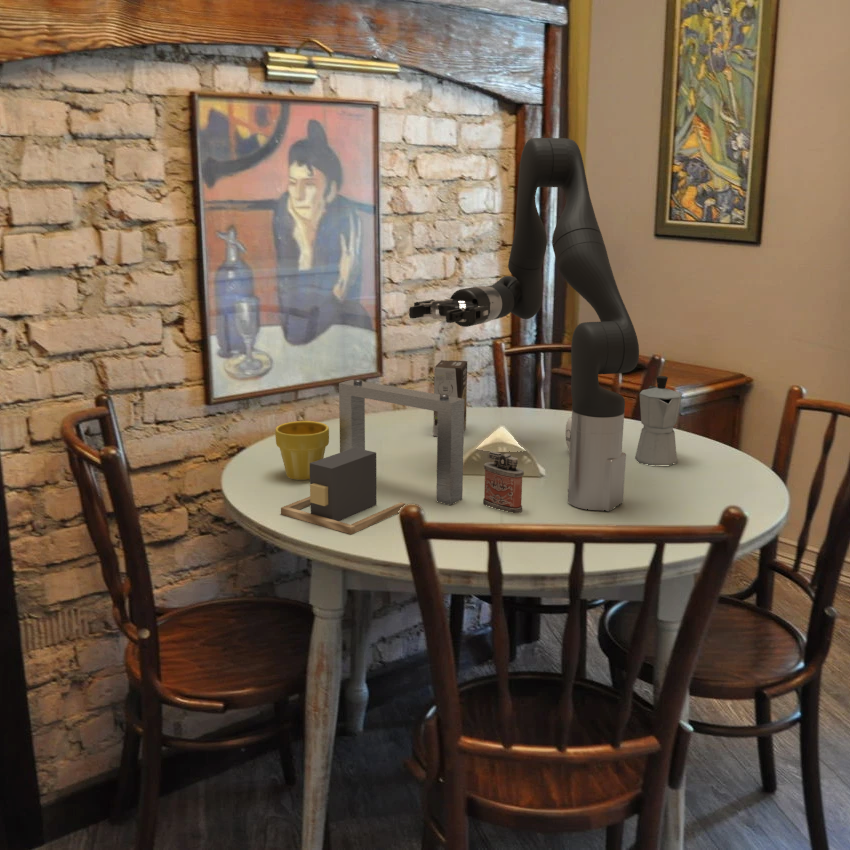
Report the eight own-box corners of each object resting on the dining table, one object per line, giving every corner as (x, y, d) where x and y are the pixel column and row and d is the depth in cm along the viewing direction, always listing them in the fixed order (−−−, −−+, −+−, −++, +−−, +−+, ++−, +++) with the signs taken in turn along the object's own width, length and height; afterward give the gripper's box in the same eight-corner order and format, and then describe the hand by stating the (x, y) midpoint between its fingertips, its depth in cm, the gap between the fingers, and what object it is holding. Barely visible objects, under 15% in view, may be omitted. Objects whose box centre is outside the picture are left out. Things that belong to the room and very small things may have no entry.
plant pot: (290, 486, 186) (289, 437, 184) (268, 472, 195) (266, 425, 192) (339, 477, 192) (338, 429, 189) (314, 464, 200) (313, 418, 198)
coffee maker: (684, 469, 199) (691, 383, 194) (641, 469, 199) (647, 383, 194) (666, 449, 213) (673, 368, 209) (626, 448, 213) (631, 367, 209)
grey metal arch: (462, 499, 180) (464, 395, 175) (450, 505, 177) (451, 399, 172) (353, 473, 195) (352, 376, 190) (340, 478, 192) (338, 380, 187)
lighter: (526, 510, 175) (528, 456, 172) (514, 514, 173) (516, 460, 170) (490, 499, 180) (492, 447, 178) (479, 504, 178) (480, 451, 175)
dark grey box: (376, 505, 177) (376, 452, 174) (328, 526, 167) (327, 470, 164) (355, 500, 180) (354, 447, 177) (306, 519, 169) (305, 464, 167)
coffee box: (460, 438, 220) (462, 368, 216) (432, 436, 221) (433, 366, 217) (467, 428, 229) (468, 360, 224) (440, 426, 230) (440, 358, 226)
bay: (405, 509, 174) (405, 503, 174) (351, 534, 163) (351, 527, 162) (336, 492, 183) (336, 485, 183) (280, 514, 172) (280, 507, 171)
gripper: (446, 284, 200) (399, 292, 188) (506, 289, 192) (460, 298, 180) (446, 320, 202) (398, 330, 190) (505, 327, 194) (460, 338, 182)
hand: (429, 315), depth 185 cm, fingers open, 8 cm apart
